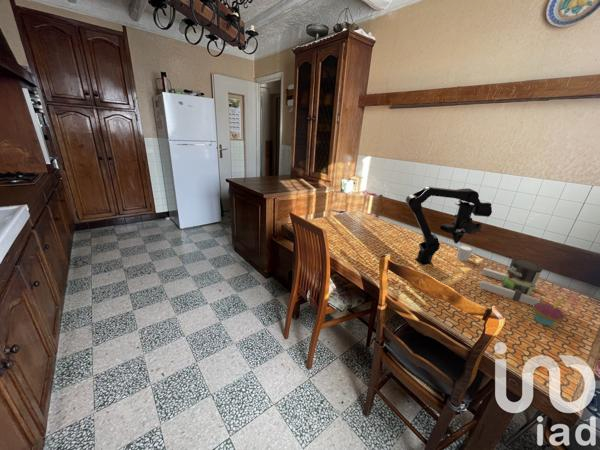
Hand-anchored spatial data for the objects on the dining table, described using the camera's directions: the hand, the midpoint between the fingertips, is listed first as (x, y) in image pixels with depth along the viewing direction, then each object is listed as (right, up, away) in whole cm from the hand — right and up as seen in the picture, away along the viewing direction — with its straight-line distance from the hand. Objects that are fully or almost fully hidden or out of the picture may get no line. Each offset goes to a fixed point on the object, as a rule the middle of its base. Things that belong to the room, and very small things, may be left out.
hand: (455, 243), depth 126 cm
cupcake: (+12, -28, -34) cm, 45 cm away
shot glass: (+11, -10, +12) cm, 19 cm away
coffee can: (+17, -21, -16) cm, 31 cm away
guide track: (+15, -20, -14) cm, 28 cm away
